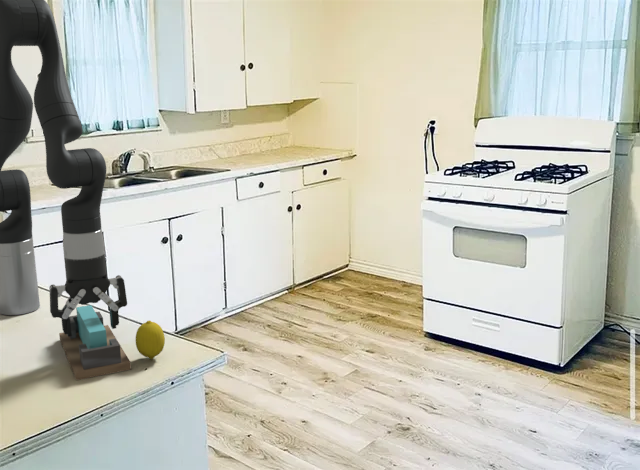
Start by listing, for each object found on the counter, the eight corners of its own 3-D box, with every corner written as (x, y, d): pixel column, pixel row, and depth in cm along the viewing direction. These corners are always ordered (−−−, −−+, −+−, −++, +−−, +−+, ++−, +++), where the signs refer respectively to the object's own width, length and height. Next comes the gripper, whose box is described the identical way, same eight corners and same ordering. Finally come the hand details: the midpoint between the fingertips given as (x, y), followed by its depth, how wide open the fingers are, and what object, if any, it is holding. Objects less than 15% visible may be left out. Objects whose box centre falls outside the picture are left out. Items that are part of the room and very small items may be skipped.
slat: (78, 334, 143) (76, 307, 142) (93, 331, 145) (91, 305, 143) (92, 362, 130) (89, 332, 128) (108, 359, 131) (105, 329, 129)
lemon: (151, 367, 131) (148, 327, 129) (130, 360, 134) (128, 322, 132) (171, 357, 135) (169, 319, 133) (151, 351, 138) (149, 313, 136)
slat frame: (59, 339, 144) (57, 317, 143) (108, 331, 149) (106, 309, 148) (75, 380, 125) (73, 354, 124) (131, 369, 130) (129, 344, 129)
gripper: (117, 244, 139) (123, 319, 142) (42, 252, 132) (51, 331, 136) (126, 252, 132) (131, 331, 136) (47, 262, 126) (56, 344, 130)
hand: (91, 331), depth 136 cm, fingers open, 8 cm apart
